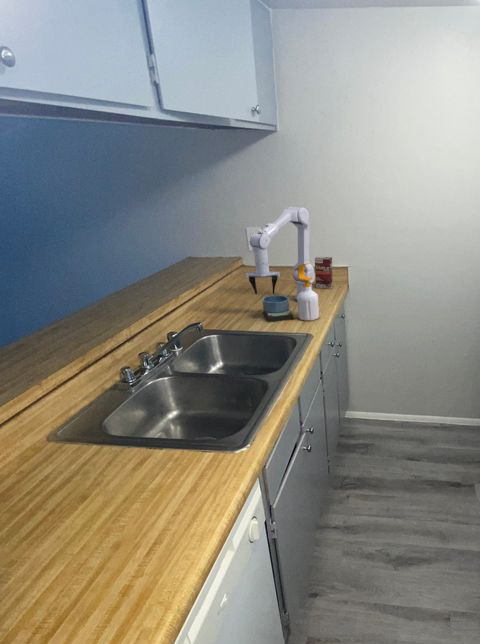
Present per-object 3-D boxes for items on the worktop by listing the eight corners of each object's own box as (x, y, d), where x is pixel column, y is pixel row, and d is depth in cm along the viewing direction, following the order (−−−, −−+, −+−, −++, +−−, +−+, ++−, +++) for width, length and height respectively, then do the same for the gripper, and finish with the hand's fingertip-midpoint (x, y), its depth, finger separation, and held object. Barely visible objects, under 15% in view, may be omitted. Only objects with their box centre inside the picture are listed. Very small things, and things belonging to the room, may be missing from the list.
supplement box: (315, 288, 256) (314, 258, 248) (318, 285, 260) (316, 256, 252) (331, 288, 254) (330, 259, 247) (333, 286, 259) (332, 257, 251)
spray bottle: (311, 322, 207) (307, 265, 195) (294, 318, 211) (290, 263, 199) (322, 316, 214) (320, 261, 202) (306, 313, 218) (303, 259, 206)
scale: (263, 313, 218) (263, 307, 216) (287, 310, 221) (286, 305, 220) (268, 322, 207) (268, 316, 206) (293, 319, 211) (292, 313, 209)
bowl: (261, 307, 217) (260, 296, 215) (286, 304, 220) (285, 294, 218) (266, 314, 208) (264, 303, 205) (291, 312, 211) (290, 301, 209)
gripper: (244, 265, 201) (247, 296, 207) (278, 264, 203) (281, 295, 209) (245, 261, 207) (248, 292, 213) (278, 260, 209) (281, 290, 215)
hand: (265, 293), depth 212 cm, fingers open, 7 cm apart
